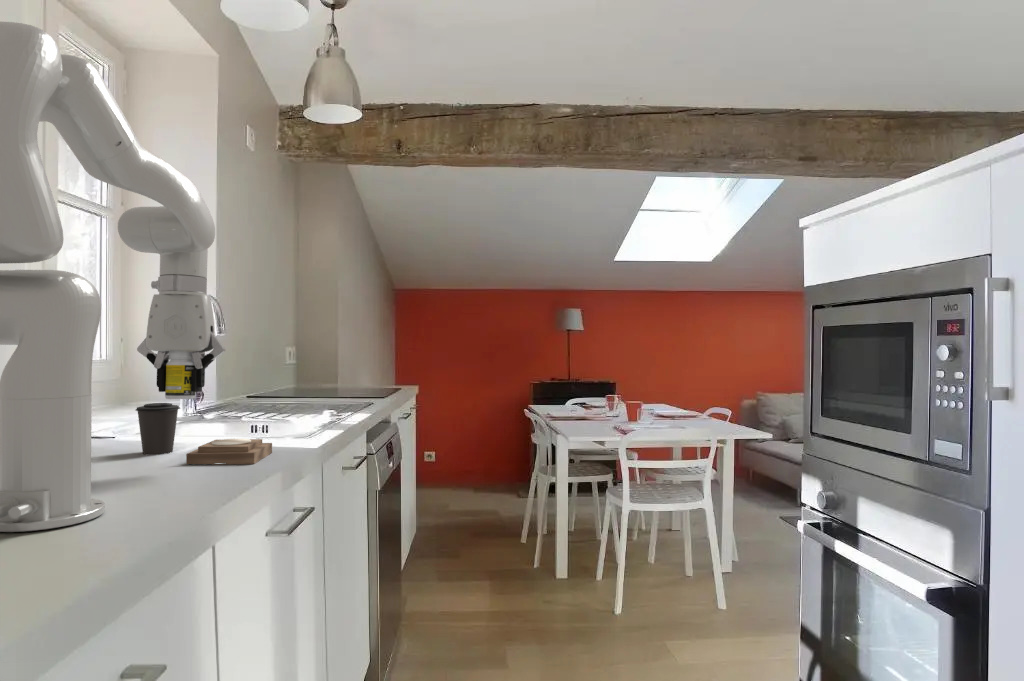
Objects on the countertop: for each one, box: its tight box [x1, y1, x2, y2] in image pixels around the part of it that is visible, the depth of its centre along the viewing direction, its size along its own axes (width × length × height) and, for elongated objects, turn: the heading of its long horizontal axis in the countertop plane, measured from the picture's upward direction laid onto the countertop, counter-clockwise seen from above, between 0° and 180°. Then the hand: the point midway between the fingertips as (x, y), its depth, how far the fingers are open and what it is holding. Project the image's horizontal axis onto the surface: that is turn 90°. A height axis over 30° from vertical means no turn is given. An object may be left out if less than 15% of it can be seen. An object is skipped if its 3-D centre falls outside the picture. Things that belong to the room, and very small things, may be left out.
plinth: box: [185, 438, 273, 465], centre depth 125 cm, size 12×12×3 cm
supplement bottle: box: [164, 351, 196, 400], centre depth 114 cm, size 5×5×8 cm
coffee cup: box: [135, 402, 181, 455], centre depth 132 cm, size 8×8×10 cm
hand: (180, 390), depth 114 cm, fingers closed on supplement bottle, 4 cm apart
